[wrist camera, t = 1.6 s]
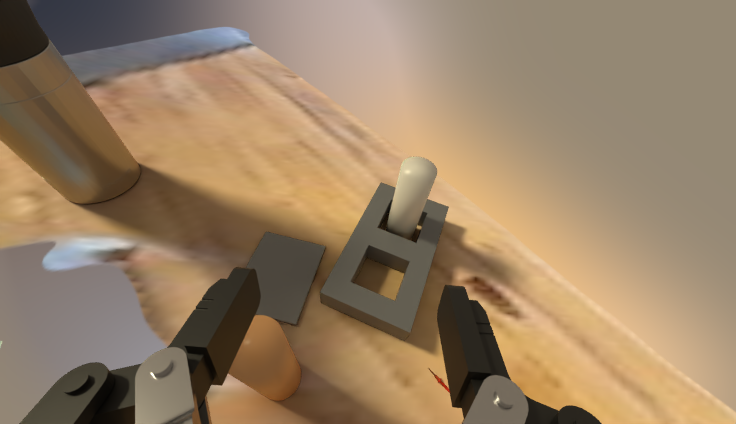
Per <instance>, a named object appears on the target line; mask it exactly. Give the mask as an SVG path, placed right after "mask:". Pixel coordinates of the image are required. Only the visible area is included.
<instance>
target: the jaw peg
mask: <svg viewBox="0 0 736 424" xmlns="http://www.w3.org/2000/svg"><path fill="white" fill-rule="evenodd" d="M228 373H229V374H230V375H232V376H233V377H235V378H236V379H238V380H240V381H241V382H243V383H244V384H246V385H248V386H249V387H251V388H253V389H254V390H256V391H257V392H259V393H261V394H262V395H264V396H265V397H267V398H269V399H271V400H274V401H281V400H284V399H286V398H288V397H290V396H291V395H292V394H293V393H294V392H295V391H296V389H297V388H298V386H299V384H300V380H301V369H300V366H299V364H298V362H297V359H296V357H295V355H294V353H293V351H292V349H291V347H290V345H289V343H288V340H287V338H286V336H285V334H284V332H283V330H282V328H281V326H280V325H279V323H278V322H277V321H276V320H274V319H273V318H271V317H268V316H265V315H255V316H254V318H253V320H252V322H251V325H250V327H249V329H248V331H247V333H246V335H245V338H244V340H243V342H242V344H241V346H240V348H239V350H238V353H237V355H236V357H235V359H234V361H233V363H232V365H231V368H230V370H229V372H228Z"/></svg>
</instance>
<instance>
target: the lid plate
mask: <svg viewBox="0 0 736 424" xmlns="http://www.w3.org/2000/svg"><path fill="white" fill-rule="evenodd" d="M325 248H326V247H325V246H323V245H319V244H315V243H311V242H306V241H302V240H298V239H294V238H290V237H286V236H282V235H278V234H274V233H270V232H266V233H265V234H264V236H263V238H262V240H261V242H260V243H259V245H258V247H257V249H256V250H255V252H254V254H253V256H252V258H251V259H250V261H249V263H248V265H247V267H246V268H253V269H255V270H256V273H257V278H258V283H259V287H260V292H261V299H260V304H259V307H258V310H257V312H256V314H255V315H265V316H268V317H271V318H273V319H274V320H277V321H281V322H285V323H289V324H292V325H297V322H298V319H299V317H300V314H301V312H302V309H303V306H304V304H305V301H306V298H307V296H308V293H309V290H310V288H311V285H312V283H313V280H314V277H315V275H316V272H317V269H318V267H319V264H320V261H321V259H322V256H323V253H324V251H325Z"/></svg>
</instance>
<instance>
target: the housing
mask: <svg viewBox="0 0 736 424" xmlns="http://www.w3.org/2000/svg"><path fill="white" fill-rule="evenodd" d="M436 175H437V168H436V166H435V165H434V164H433V163H432V162H431V161H429V160H428V159H425V158H422V157H409V158H407V159H405V160H404V161H403V162H402V165H401V169H400V173H399V177H398V181H397V185H396V188H395V187H392V186H389V185H387V184H384V183H380V185H379V187H378V188H377V190H376V192H375V194H374V196H373V197H372V199H371V201H370V203H369V205H368V207H367V208H366V210H365V212H364V214H363V216H362V217H361V219H360V221H359V223H358V225H357V226H356V228H355V230H354V232H353V234H352V235H351V237H350V239H349V241H348V243H347V244H346V246H345V248H344V250H343V252H342V253H341V255H340V257H339V259H338V261H337V262H336V264H335V266H334V268H333V270H332V271H331V273H330V275H329V277H328V279H327V280H326V282H325V284H324V286H323V288H322V289H321V291H320V298H321V303H322V304H325V305H327V306H329V307H331V308H333V309H336V310H338V311H340V312H342V313H344V314H347V315H349V316H351V317H353V318H355V319H357V320H360V321H362V322H364V323H366V324H368V325H371V326H373V327H375V328H377V329H379V330H382V331H384V332H386V333H388V334H390V335H392V336H395V337H397V338H399V339H401V340H403V341H405V339H406V338H407V337H408V335H409V334H410V332H411V329H412V325H413V322H414V319H415V316H416V312H417V309H418V306H419V302H420V299H421V296H422V293H423V289H424V286H425V283H426V280H427V276H428V273H429V270H430V267H431V263H432V260H433V257H434V253H435V250H436V247H437V244H438V240H439V237H440V234H441V231H442V227H443V224H444V221H445V217H446V214H447V211H448V208H449V207H448V206H445V205H442V204H439V203H436V202H434V201H431V200H428V199H427V198H428V196H429V193H430V191H431V188H432V186H433V183H434V180H435V178H436ZM388 213H389V218H388V222H387V226H386V230H382V229H380V228H381V226H382V224H383V222H384V220H385V218H386V216H387V214H388ZM417 224H418V225H420V226H422V228H421V230H420V233H419V236H418V239H417V241H416V243H415V242H413V241H411V239H412V237H413V235H414V232H415V229H416V227H417ZM366 257H367V258H369V259H372V260H374V261H377V262H379V263H381V264H384V265H386V266H389V267H391V268H394V269H396V270H398V271H401V272H403V273H405V274H404V277H403V280H402V282H401V285H400V288H399V291H398V293H397V296H396V299H395V301H394V300H391V299H389V298H387V297H384V296H382V295H380V294H377V293H375V292H373V291H370V290H368V289H366V288H364V287H361V286H359V285H357V284H354V282H355V280H356V278H357V276H358V274H359V272H360V270H361V267H362V265H363V263H364V261H365V259H366Z"/></svg>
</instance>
